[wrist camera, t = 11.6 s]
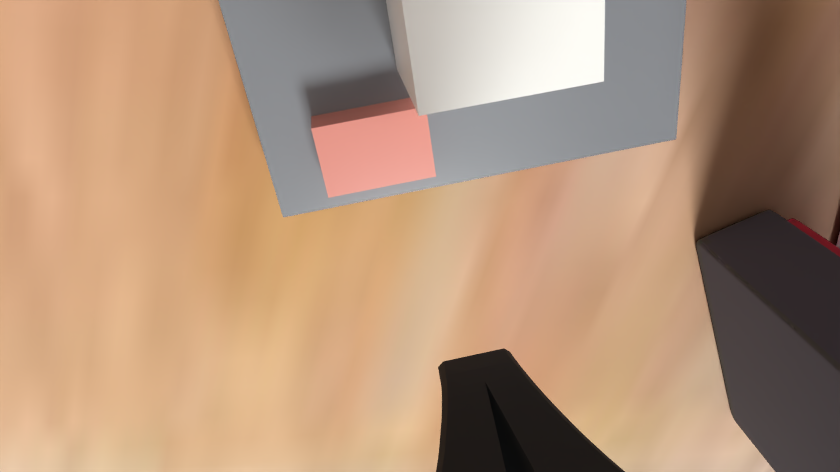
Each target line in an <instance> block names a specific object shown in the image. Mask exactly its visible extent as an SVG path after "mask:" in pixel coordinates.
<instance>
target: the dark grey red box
mask: <svg viewBox="0 0 840 472" xmlns="http://www.w3.org/2000/svg"><path fill="white" fill-rule="evenodd" d="M696 248H697V253H698V258H699V262H700V267H701V272H702V277H703V281H704V286H705V291H706V295H707V300H708V305H709V310H710V314H711V319H712V324H713V328H714V333H715V338H716V343H717V347H718V352H719V357H720V361H721V366H722V371H723V376H724V380H725V385H726V390H727V394H728V399H729V404H730V409H731V413H732V416H733V418H734V420H735V421H736V423H737V424H738V425H739V427H740V428H741V429H742V430H743V432H744V433H745V434H746V435H747V437H748V438H749V439H750V440H751V442H752V443H753V444H754V445H755V447H756V448H757V449H758V450H759V452H760V453H761V454H762V455H763V457H764V458H765V459H766V460H767V462H768V463H769V464H770V465H771V467H772V468H773V469H774V470H775V472H840V248H838V247H837V246H835V245H834V244H832V243H831V242H829V241H828V240H826V239H825V238H823V237H822V236H820V235H819V234H817V233H816V232H814V231H813V230H811V229H810V228H808V227H807V226H805V225H804V224H802V223H801V222H799V221H798V220H796V219H793V218H791V219H789V220H786V219H784V218H783V217H781V216H780V215H778V214H777V213H775V212H774V211H771V210H766V211H764V212H761V213H759V214H756V215H754V216H752V217H749V218H747V219H745V220H742V221H740V222H738V223H736V224H733V225H731V226H729V227H726V228H724V229H722V230H720V231H717V232H715V233H713V234H710V235H708V236H706V237H704V238H702V239H699V240H698V241H697V243H696Z"/></svg>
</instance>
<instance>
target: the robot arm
mask: <svg viewBox="0 0 840 472" xmlns="http://www.w3.org/2000/svg"><path fill="white" fill-rule="evenodd" d="M836 246H837V247H838V248H840V233H839V237H838V241H837V245H836ZM438 369H439V375H440V380H441V387H442V422H441V435H440V447H439V456H438V463H437V470H436V472H625V471H623V470H622V469H621V468H620V467H619V466H617V465H616V464H615V463H614V462H613V461H612V460H611V459H609V458H608V457H607V456H606V455H605V454H604V453H603V452H602V451H601V450H600V449H598V448H597V447H596V446H595V445H594V444H593V443H592V442H591V441H590V440H589V439H588V438H587V437H585V436H584V435H583V434H582V433H581V432H580V431H579V430H578V429H577V428H576V427H575V426H574V425H573V424H572V423H571V422H570V421H569V420H568V419H567V418H566V417H565V416H564V415H563V414H562V413H561V412H560V411H559V410H558V408H557V407H556V406H555V405H554V404H553V403H552V402H551V401H550V400H549V399H548V398H547V397H546V396H545V395H544V393H543V392H542V391H541V390H540V389H539V388H538V387H537V385H536V384H535V383H534V382H533V381H532V380H531V379H530V377H529V376H528V375H527V374H526V372H525V371H524V370H523V369H522V368H521V366H520V365H519V364H518V362H517V361H516V360H515V358H514V357H513V356H512V354H511V353H510V352H509V351H507V350H506V349H500V350H495V351H490V352H486V353H481V354H476V355H472V356H467V357H462V358H458V359H453V360H449V361H444V362H442V364H441V365H440V366H439V367H438Z"/></svg>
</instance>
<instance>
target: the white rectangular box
mask: <svg viewBox="0 0 840 472" xmlns="http://www.w3.org/2000/svg"><path fill="white" fill-rule="evenodd" d="M386 4H387V10H388V17H389V23H390V29H391V35H392V42H393V48H394V54H395V60H396V67H397V70H398V72H399V75H400V77H401V79H402V81H403V83H404V85H405V87H406V90H407V92H408V94H409V96H410V98H411V100H412V103H413V105H414V107H415V109H416V111H417V113H418V116H421V115H427V114H432V113H438V112H443V111H448V110H454V109H459V108H464V107H470V106H475V105H480V104H486V103H491V102H497V101H502V100H507V99H513V98H518V97H523V96H529V95H534V94H540V93H545V92H550V91H556V90H561V89H566V88H572V87H577V86H583V85H588V84H593V83H599V82H604V41H605V0H386Z"/></svg>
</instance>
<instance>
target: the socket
mask: <svg viewBox="0 0 840 472" xmlns="http://www.w3.org/2000/svg"><path fill="white" fill-rule="evenodd" d="M218 1H219V4H220V7H221V11H222V14H223V17H224V21H225V24H226V28H227V31H228V34H229V38H230V41H231V44H232V48H233V51H234V54H235V58H236V61H237V64H238V68H239V71H240V74H241V78H242V81H243V84H244V88H245V91H246V94H247V98H248V101H249V104H250V108H251V111H252V115H253V118H254V121H255V125H256V128H257V131H258V135H259V138H260V141H261V145H262V148H263V151H264V155H265V158H266V161H267V165H268V168H269V171H270V175H271V178H272V181H273V185H274V188H275V192H276V195H277V198H278V202H279V205H280V208H281V212H282V215H283V217H287V216H293V215H298V214H303V213H308V212H313V211H318V210H323V209H328V208H333V207H338V206H343V205H348V204H353V203H358V202H363V201H368V200H373V199H378V198H383V197H388V196H393V195H398V194H403V193H408V192H413V191H418V190H423V189H428V188H433V187H438V186H443V185H448V184H453V183H458V182H463V181H468V180H473V179H479V178H484V177H489V176H494V175H499V174H504V173H509V172H514V171H519V170H524V169H529V168H534V167H539V166H544V165H549V164H554V163H559V162H564V161H569V160H574V159H579V158H584V157H589V156H594V155H599V154H604V153H609V152H614V151H619V150H624V149H629V148H634V147H639V146H644V145H649V144H654V143H660V142H665V141H670V140H675V139H676V134H677V120H678V107H679V93H680V80H681V67H682V53H683V40H684V26H685V13H686V0H605V41H604V82H599V83H593V84H588V85H583V86H577V87H572V88H566V89H561V90H556V91H550V92H545V93H540V94H534V95H529V96H523V97H518V98H513V99H507V100H502V101H497V102H491V103H486V104H480V105H475V106H470V107H464V108H459V109H454V110H448V111H443V112H438V113H432V114H427V115H421V116H418V113H417V111H416V109H415V107H414V105H413V103H412V100H411V98H410V96H409V94H408V92H407V90H406V87H405V85H404V83H403V81H402V79H401V77H400V75H399V72H398V70H397V67H396V60H395V54H394V48H393V42H392V35H391V29H390V23H389V17H388V10H387V4H386V0H218Z"/></svg>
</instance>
